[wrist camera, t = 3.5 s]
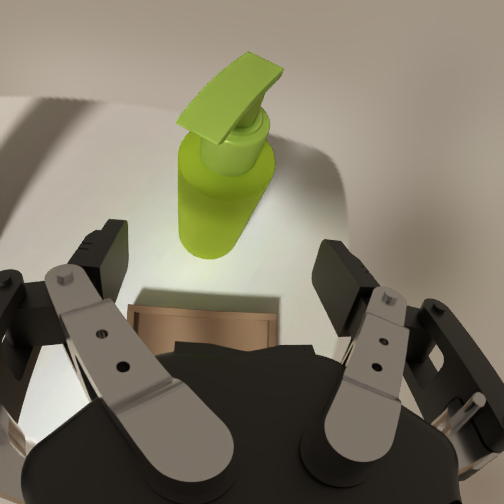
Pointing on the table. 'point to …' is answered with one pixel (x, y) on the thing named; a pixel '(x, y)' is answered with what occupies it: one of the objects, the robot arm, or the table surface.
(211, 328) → the soap tray
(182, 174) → the soap dispenser
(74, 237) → the table surface
